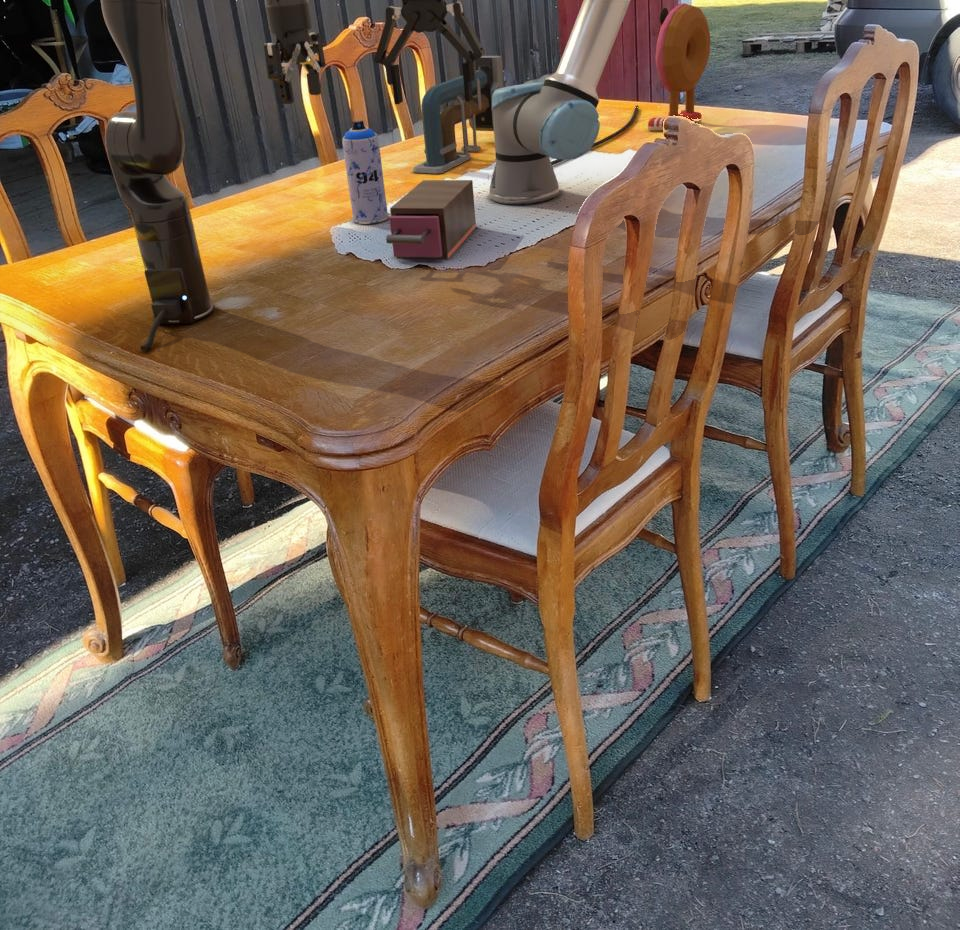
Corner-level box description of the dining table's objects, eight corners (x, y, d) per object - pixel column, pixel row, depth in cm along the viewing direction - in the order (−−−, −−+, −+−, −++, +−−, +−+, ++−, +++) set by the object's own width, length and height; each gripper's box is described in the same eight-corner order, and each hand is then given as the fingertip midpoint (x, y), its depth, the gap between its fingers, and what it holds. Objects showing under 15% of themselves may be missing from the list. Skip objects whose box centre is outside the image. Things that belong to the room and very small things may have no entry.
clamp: (440, 173, 235) (432, 80, 224) (410, 172, 239) (400, 80, 228) (506, 140, 261) (501, 55, 250) (478, 139, 264) (472, 55, 254)
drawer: (430, 268, 173) (426, 227, 170) (383, 267, 176) (377, 227, 172) (467, 227, 193) (464, 190, 189) (424, 227, 195) (420, 190, 191)
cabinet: (448, 258, 180) (443, 208, 175) (396, 257, 183) (389, 208, 178) (476, 227, 196) (472, 180, 191) (427, 226, 199) (422, 180, 194)
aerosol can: (355, 226, 202) (341, 127, 192) (349, 216, 209) (336, 120, 199) (392, 220, 204) (380, 122, 194) (385, 211, 210) (373, 115, 200)
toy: (679, 116, 271) (683, -2, 256) (712, 118, 265) (718, -3, 250) (639, 132, 257) (640, 8, 242) (673, 135, 251) (676, 8, 236)
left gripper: (279, 6, 162) (295, 107, 170) (327, -4, 173) (340, 91, 181) (244, 7, 165) (261, 106, 174) (293, -3, 176) (308, 91, 184)
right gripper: (495, -34, 168) (503, 94, 179) (360, -24, 174) (376, 99, 185) (485, -30, 162) (494, 103, 173) (346, -19, 168) (363, 108, 179)
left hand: (302, 99), depth 177 cm, fingers open, 8 cm apart
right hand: (433, 101), depth 179 cm, fingers open, 13 cm apart
